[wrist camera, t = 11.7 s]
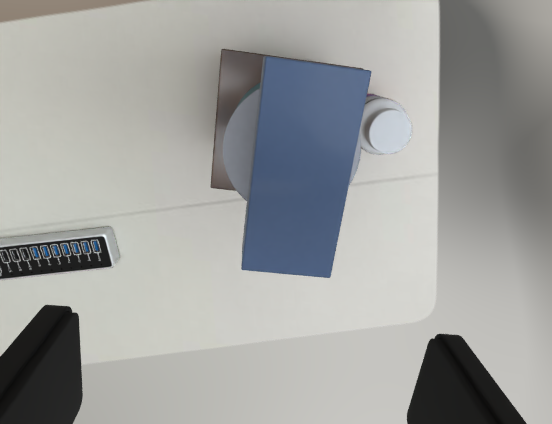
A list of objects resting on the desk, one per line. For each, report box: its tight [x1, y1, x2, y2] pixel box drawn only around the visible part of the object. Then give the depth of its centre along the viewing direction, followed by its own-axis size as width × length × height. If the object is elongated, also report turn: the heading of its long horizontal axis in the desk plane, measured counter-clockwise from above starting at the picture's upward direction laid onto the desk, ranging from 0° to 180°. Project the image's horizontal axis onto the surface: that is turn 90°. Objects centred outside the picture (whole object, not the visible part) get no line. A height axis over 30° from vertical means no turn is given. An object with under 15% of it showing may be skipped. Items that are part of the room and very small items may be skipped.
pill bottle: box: [359, 93, 412, 155], centre depth 42 cm, size 5×5×10 cm
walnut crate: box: [211, 49, 363, 191], centre depth 38 cm, size 10×10×16 cm
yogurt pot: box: [223, 83, 361, 201], centre depth 27 cm, size 8×8×7 cm
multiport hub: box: [0, 227, 120, 280], centre depth 49 cm, size 4×14×2 cm, turn 96°
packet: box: [241, 56, 371, 278], centre depth 21 cm, size 10×4×5 cm, turn 173°
